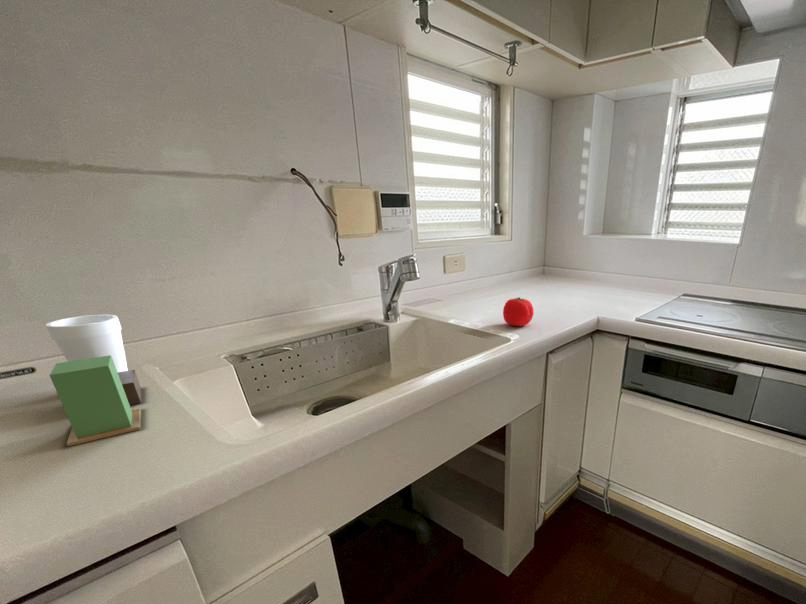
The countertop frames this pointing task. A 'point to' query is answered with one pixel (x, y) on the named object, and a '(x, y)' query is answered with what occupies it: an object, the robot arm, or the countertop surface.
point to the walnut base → (131, 386)
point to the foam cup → (90, 338)
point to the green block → (92, 395)
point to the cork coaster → (134, 426)
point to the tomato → (518, 312)
